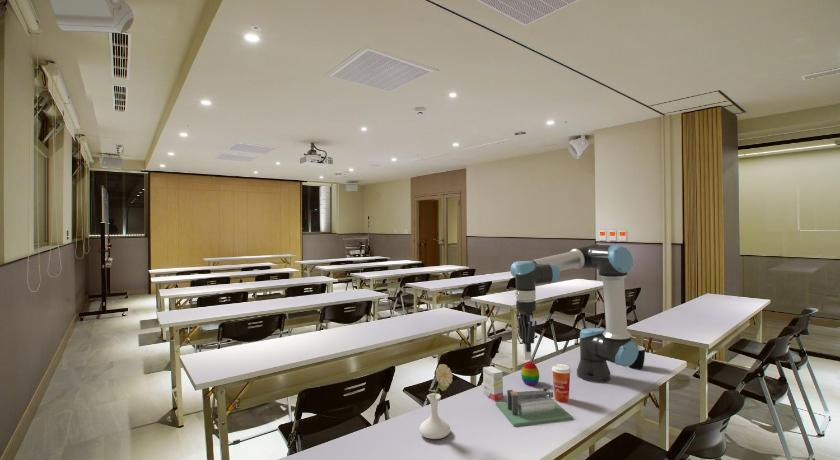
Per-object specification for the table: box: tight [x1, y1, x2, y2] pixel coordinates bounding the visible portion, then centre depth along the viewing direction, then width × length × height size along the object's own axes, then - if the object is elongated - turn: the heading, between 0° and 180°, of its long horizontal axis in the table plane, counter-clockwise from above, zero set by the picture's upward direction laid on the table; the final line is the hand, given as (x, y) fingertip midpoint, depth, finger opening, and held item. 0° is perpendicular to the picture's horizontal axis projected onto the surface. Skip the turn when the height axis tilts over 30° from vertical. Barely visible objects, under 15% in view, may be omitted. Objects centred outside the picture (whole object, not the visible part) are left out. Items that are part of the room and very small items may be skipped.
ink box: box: [482, 365, 504, 402], centre depth 173 cm, size 9×5×12 cm, turn 24°
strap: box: [510, 389, 550, 397], centre depth 158 cm, size 17×3×1 cm, turn 101°
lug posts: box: [506, 389, 518, 415], centre depth 157 cm, size 2×5×8 cm, turn 11°
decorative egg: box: [520, 361, 540, 386], centre depth 186 cm, size 8×8×10 cm
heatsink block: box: [517, 387, 555, 417], centre depth 159 cm, size 15×10×7 cm
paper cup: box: [551, 363, 572, 403], centre depth 169 cm, size 8×8×14 cm
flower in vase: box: [418, 363, 454, 440], centre depth 144 cm, size 13×11×25 cm
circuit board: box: [495, 400, 573, 427], centre depth 159 cm, size 24×18×1 cm
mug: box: [627, 345, 646, 370], centre depth 204 cm, size 12×9×10 cm
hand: (527, 359), depth 158 cm, fingers closed
